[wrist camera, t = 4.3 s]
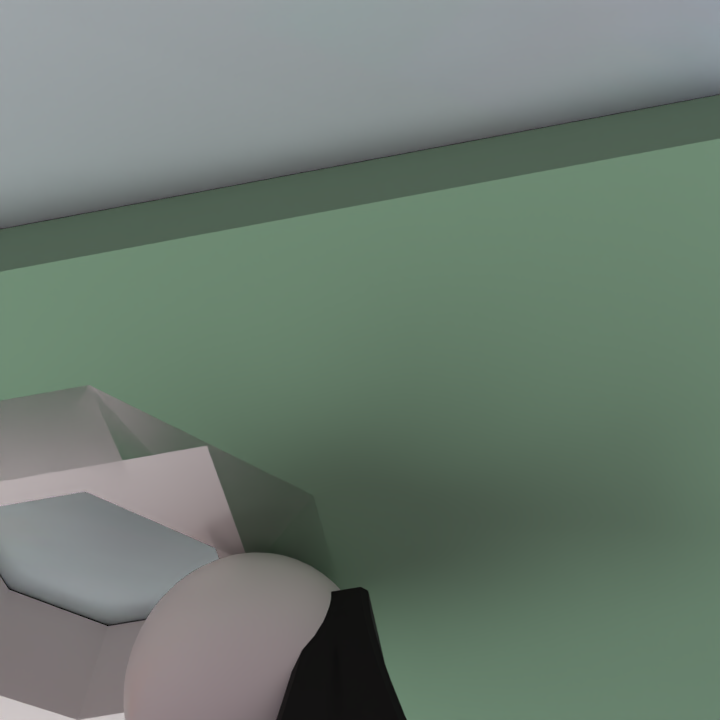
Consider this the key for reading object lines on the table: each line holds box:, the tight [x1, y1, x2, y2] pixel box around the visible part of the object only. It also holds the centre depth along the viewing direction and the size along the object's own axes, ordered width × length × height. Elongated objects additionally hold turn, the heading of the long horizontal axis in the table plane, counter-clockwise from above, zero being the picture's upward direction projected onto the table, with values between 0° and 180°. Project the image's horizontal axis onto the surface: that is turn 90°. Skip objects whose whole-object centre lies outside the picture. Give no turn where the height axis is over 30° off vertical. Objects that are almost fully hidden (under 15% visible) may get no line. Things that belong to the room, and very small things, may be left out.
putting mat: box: [0, 95, 720, 720], centre depth 14 cm, size 18×14×2 cm
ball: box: [124, 552, 340, 720], centre depth 11 cm, size 4×4×4 cm
